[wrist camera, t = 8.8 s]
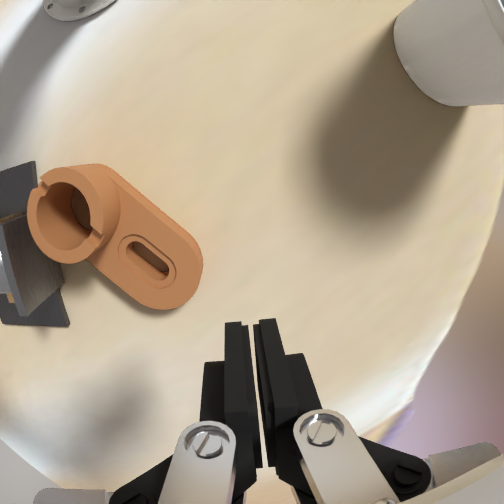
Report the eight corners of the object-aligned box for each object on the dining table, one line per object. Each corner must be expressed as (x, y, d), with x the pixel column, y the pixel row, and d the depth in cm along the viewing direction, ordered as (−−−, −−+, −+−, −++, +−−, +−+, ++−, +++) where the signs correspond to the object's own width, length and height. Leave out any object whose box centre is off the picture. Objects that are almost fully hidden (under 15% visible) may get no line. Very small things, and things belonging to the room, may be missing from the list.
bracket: (52, 210, 28) (16, 224, 21) (89, 148, 26) (54, 148, 20) (172, 311, 32) (159, 347, 26) (219, 257, 31) (216, 285, 24)
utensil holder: (393, 101, 26) (518, 76, 10) (376, -10, 22) (459, -81, 5) (483, 120, 27) (590, 125, 10) (467, 22, 22) (555, -7, 6)
